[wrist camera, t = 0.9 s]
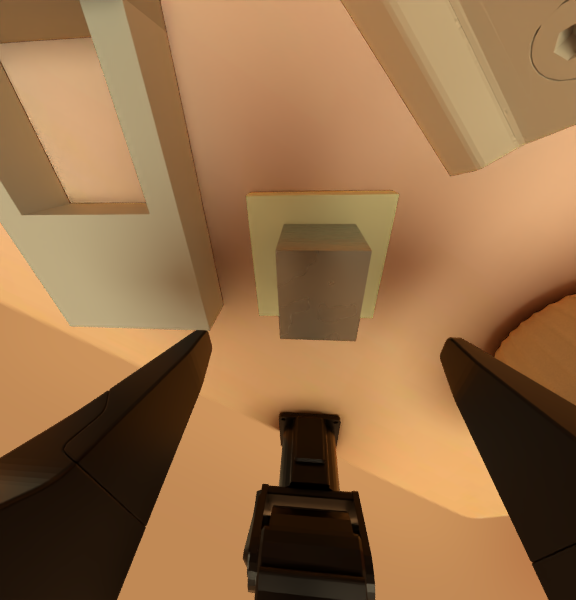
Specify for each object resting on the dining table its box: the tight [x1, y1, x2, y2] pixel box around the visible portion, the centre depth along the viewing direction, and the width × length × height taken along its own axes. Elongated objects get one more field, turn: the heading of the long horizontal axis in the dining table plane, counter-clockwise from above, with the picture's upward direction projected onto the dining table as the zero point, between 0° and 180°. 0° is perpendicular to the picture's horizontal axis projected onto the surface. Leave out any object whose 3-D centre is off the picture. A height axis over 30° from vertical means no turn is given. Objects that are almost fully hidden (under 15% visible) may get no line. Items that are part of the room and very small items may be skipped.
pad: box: [246, 190, 399, 318], centre depth 15 cm, size 8×8×1 cm
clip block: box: [275, 224, 372, 341], centre depth 13 cm, size 5×4×4 cm
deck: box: [0, 0, 223, 331], centre depth 12 cm, size 16×10×5 cm, turn 1°
